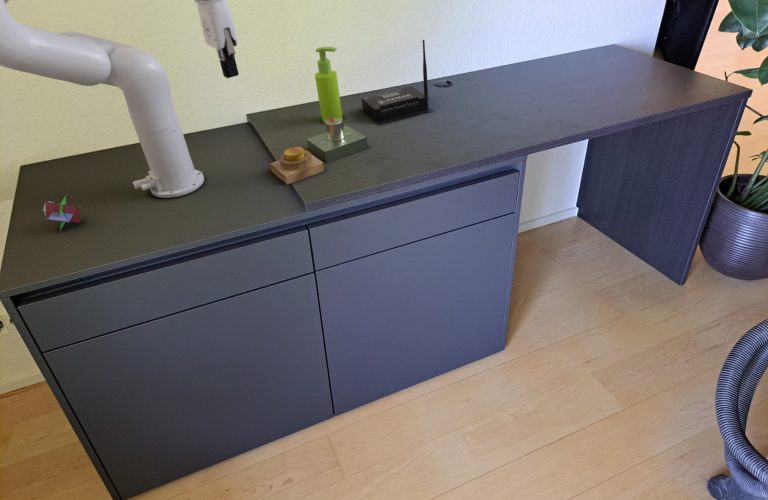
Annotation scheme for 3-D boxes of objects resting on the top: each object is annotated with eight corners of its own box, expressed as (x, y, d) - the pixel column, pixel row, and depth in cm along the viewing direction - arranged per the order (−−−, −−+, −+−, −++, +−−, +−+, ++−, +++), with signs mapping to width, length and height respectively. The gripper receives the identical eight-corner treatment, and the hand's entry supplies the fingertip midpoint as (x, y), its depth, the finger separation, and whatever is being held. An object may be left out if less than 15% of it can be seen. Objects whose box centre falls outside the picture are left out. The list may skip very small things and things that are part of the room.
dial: (347, 137, 141) (345, 119, 138) (332, 143, 139) (329, 125, 136) (339, 132, 144) (337, 114, 141) (324, 137, 142) (321, 119, 139)
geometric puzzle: (93, 205, 125) (59, 183, 121) (85, 220, 120) (49, 198, 116) (75, 225, 127) (41, 204, 123) (66, 241, 122) (30, 220, 118)
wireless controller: (379, 125, 153) (373, 62, 143) (360, 109, 164) (353, 50, 154) (443, 108, 158) (441, 47, 149) (421, 94, 169) (418, 36, 159)
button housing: (287, 184, 130) (283, 169, 127) (271, 171, 136) (268, 156, 134) (324, 170, 134) (322, 155, 131) (307, 158, 140) (305, 143, 138)
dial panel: (326, 162, 137) (324, 151, 135) (308, 149, 144) (306, 138, 142) (367, 147, 142) (366, 136, 140) (348, 135, 149) (346, 124, 147)
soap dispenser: (343, 123, 156) (332, 50, 145) (319, 123, 158) (307, 51, 146) (348, 114, 161) (338, 44, 149) (325, 115, 162) (314, 45, 151)
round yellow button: (290, 164, 130) (289, 157, 129) (282, 157, 133) (281, 150, 132) (308, 157, 132) (306, 151, 131) (299, 151, 135) (298, 145, 134)
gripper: (183, -9, 125) (206, 73, 135) (204, 0, 114) (227, 87, 125) (215, -15, 128) (234, 65, 138) (239, -7, 117) (258, 79, 128)
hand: (231, 75), depth 132 cm, fingers closed
